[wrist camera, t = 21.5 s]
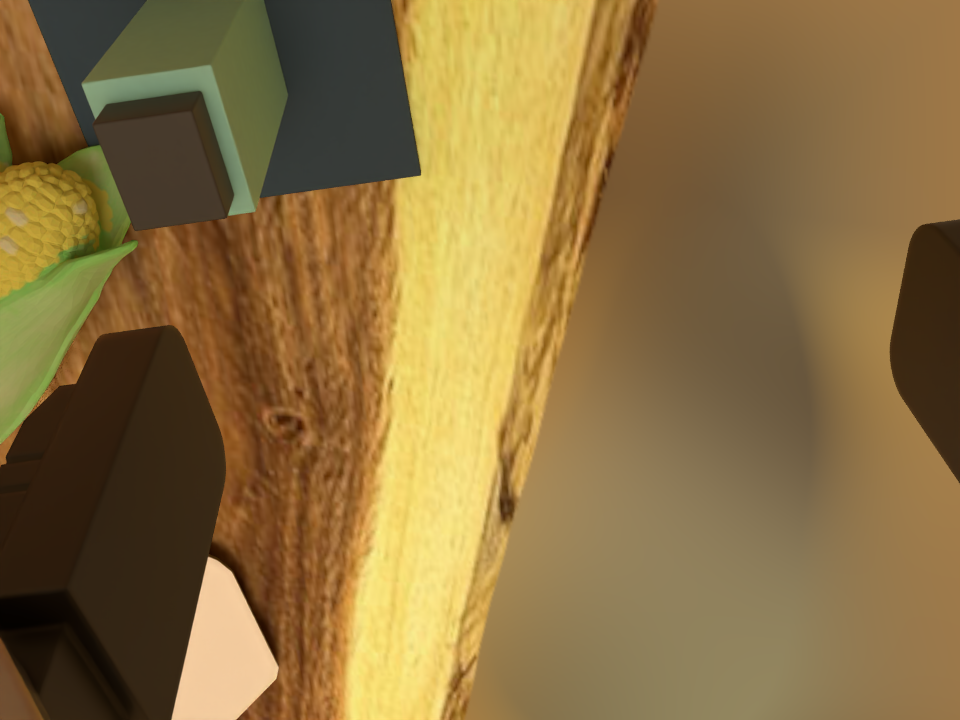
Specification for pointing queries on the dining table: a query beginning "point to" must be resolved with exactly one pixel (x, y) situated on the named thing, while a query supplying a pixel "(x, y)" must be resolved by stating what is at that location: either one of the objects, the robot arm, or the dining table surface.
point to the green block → (189, 109)
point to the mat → (307, 74)
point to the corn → (51, 265)
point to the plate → (223, 652)
